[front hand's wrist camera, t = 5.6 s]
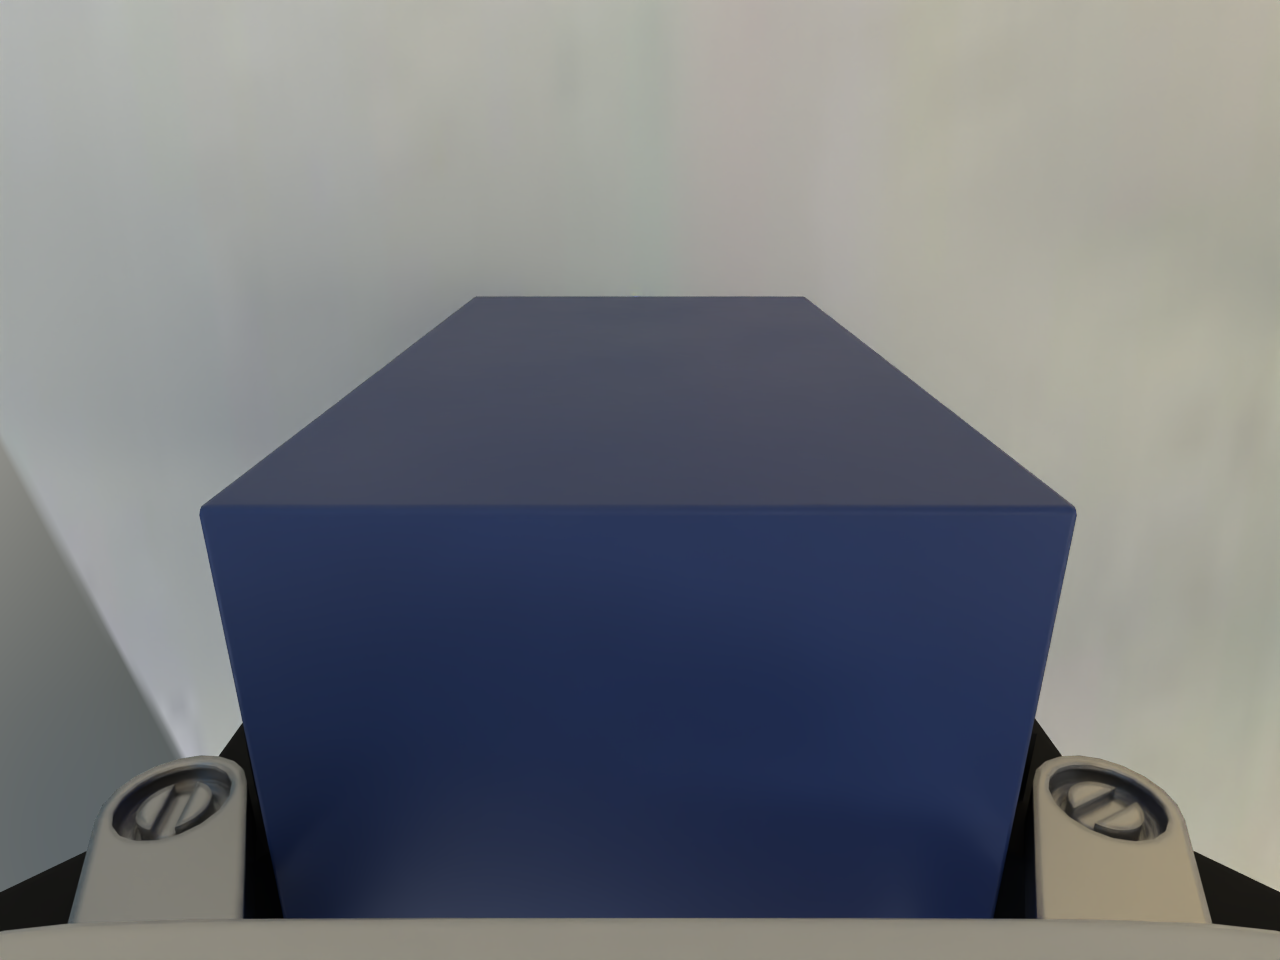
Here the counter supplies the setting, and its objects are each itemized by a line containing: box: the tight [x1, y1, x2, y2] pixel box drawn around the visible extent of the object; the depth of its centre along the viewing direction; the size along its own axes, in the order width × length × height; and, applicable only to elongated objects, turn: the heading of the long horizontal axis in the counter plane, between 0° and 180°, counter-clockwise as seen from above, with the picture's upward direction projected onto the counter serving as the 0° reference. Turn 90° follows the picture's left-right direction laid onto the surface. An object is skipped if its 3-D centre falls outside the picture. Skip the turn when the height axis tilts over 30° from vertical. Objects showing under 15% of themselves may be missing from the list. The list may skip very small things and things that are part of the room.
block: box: [200, 297, 1077, 919], centre depth 12 cm, size 6×9×10 cm
